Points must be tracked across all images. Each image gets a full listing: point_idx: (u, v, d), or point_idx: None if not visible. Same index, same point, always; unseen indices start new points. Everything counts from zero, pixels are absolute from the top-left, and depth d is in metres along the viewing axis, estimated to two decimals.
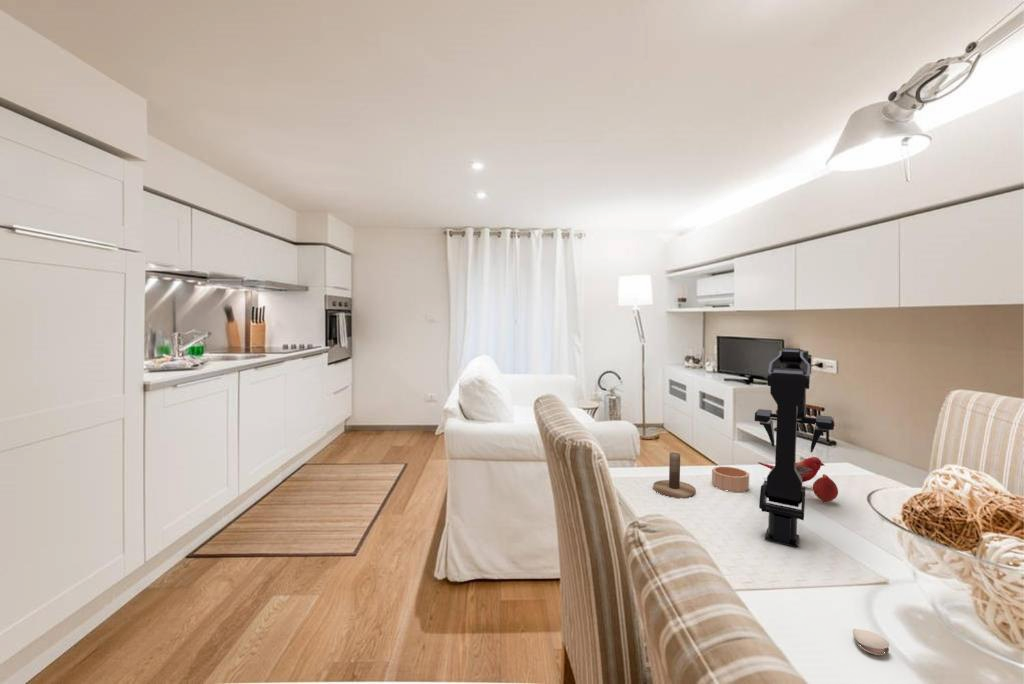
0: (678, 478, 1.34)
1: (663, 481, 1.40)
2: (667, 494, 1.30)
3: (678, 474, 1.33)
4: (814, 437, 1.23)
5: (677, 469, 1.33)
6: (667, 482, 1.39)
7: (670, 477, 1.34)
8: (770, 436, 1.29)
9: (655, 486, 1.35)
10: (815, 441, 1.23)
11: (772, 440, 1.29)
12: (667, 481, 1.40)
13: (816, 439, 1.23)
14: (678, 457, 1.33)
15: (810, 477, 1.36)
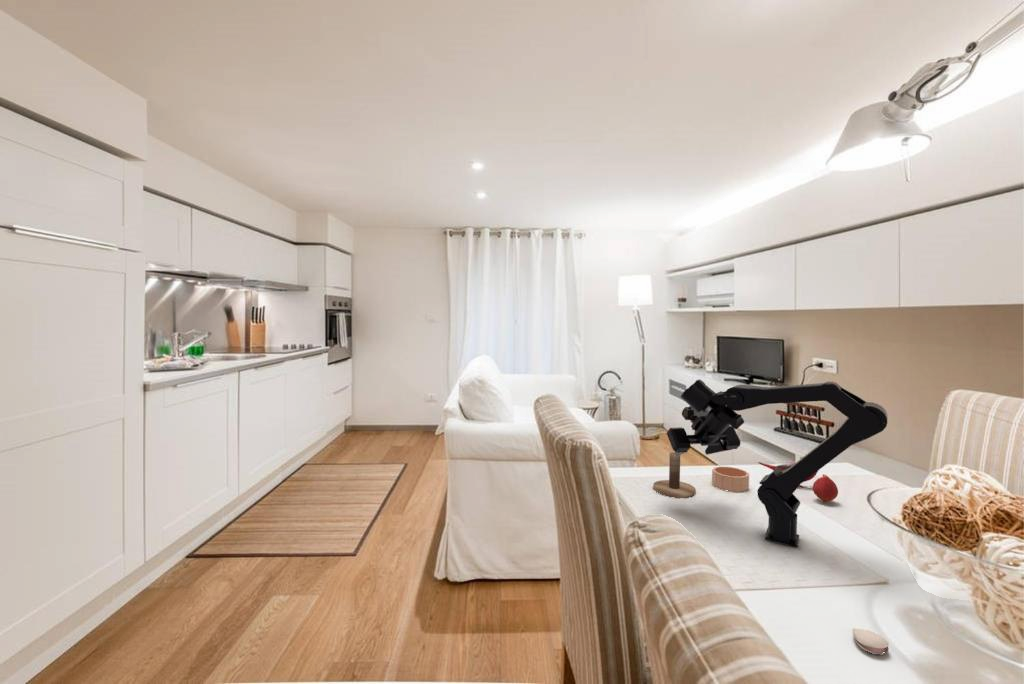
0: (678, 478, 1.34)
1: (663, 481, 1.40)
2: (667, 494, 1.30)
3: (678, 474, 1.33)
4: (718, 451, 1.23)
5: (677, 469, 1.33)
6: (667, 482, 1.39)
7: (670, 477, 1.34)
8: (680, 454, 1.22)
9: (655, 486, 1.35)
10: (716, 452, 1.24)
11: None
12: (667, 481, 1.40)
13: None
14: (678, 457, 1.33)
15: (810, 477, 1.36)
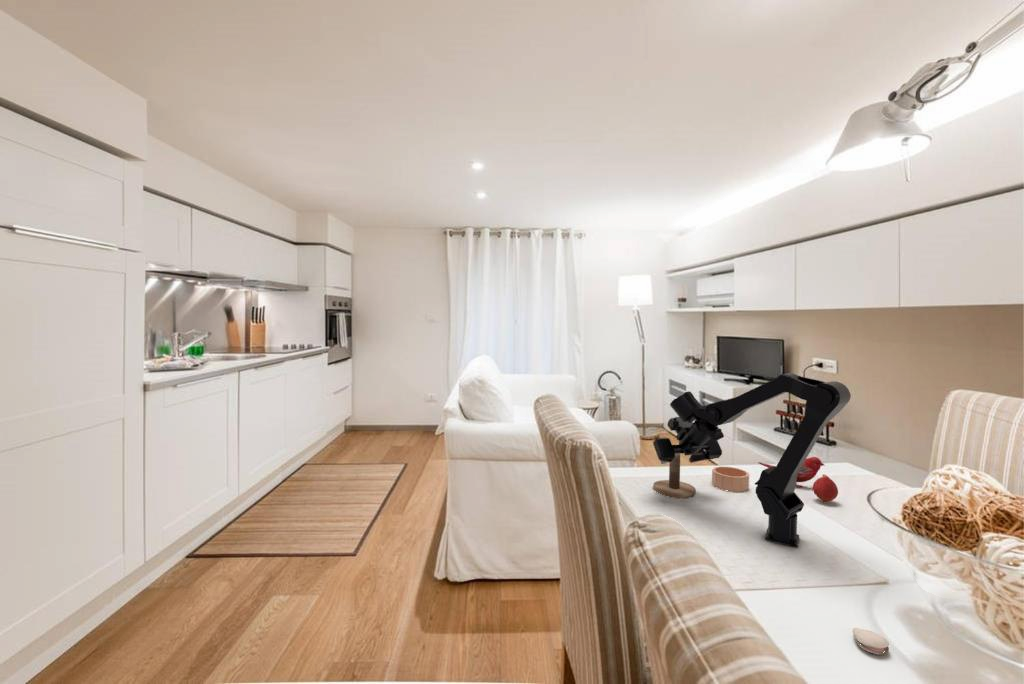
0: (678, 478, 1.34)
1: (663, 481, 1.40)
2: (667, 494, 1.30)
3: (678, 474, 1.33)
4: (701, 460, 1.30)
5: (677, 469, 1.33)
6: (667, 482, 1.39)
7: (670, 477, 1.34)
8: (665, 462, 1.29)
9: (655, 486, 1.35)
10: None
11: (664, 463, 1.31)
12: (667, 481, 1.40)
13: (701, 460, 1.30)
14: (678, 457, 1.33)
15: (810, 477, 1.36)
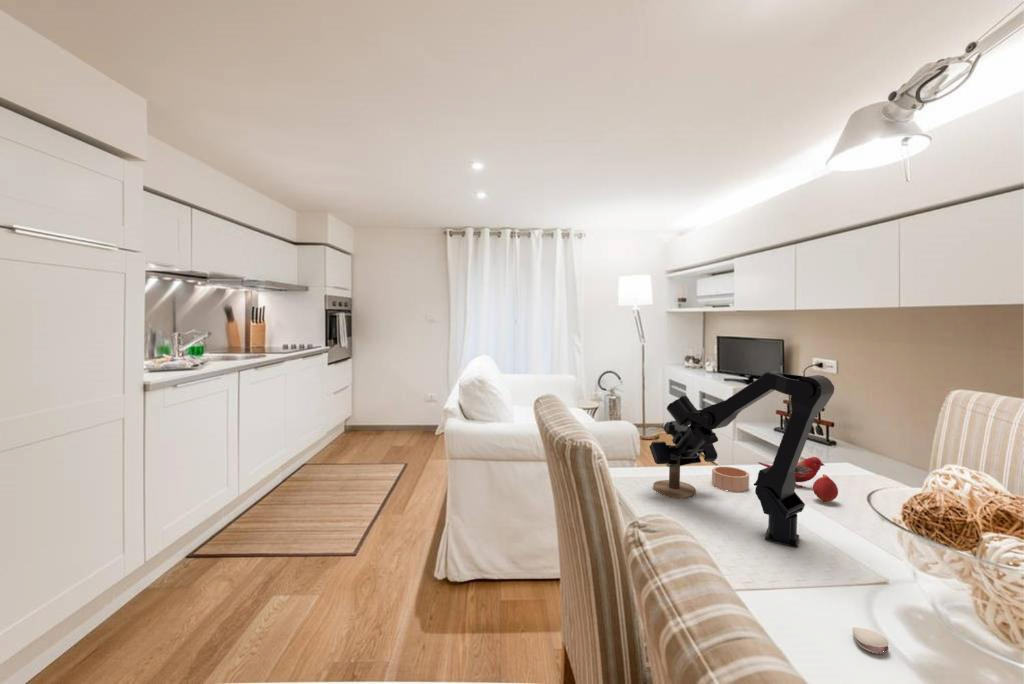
0: (678, 478, 1.34)
1: (663, 481, 1.40)
2: (667, 494, 1.30)
3: (678, 474, 1.33)
4: (688, 464, 1.32)
5: (677, 469, 1.33)
6: (667, 482, 1.39)
7: (670, 477, 1.34)
8: (671, 465, 1.32)
9: (655, 486, 1.35)
10: (686, 464, 1.33)
11: None
12: (667, 481, 1.40)
13: (688, 464, 1.32)
14: (678, 457, 1.33)
15: (810, 477, 1.36)
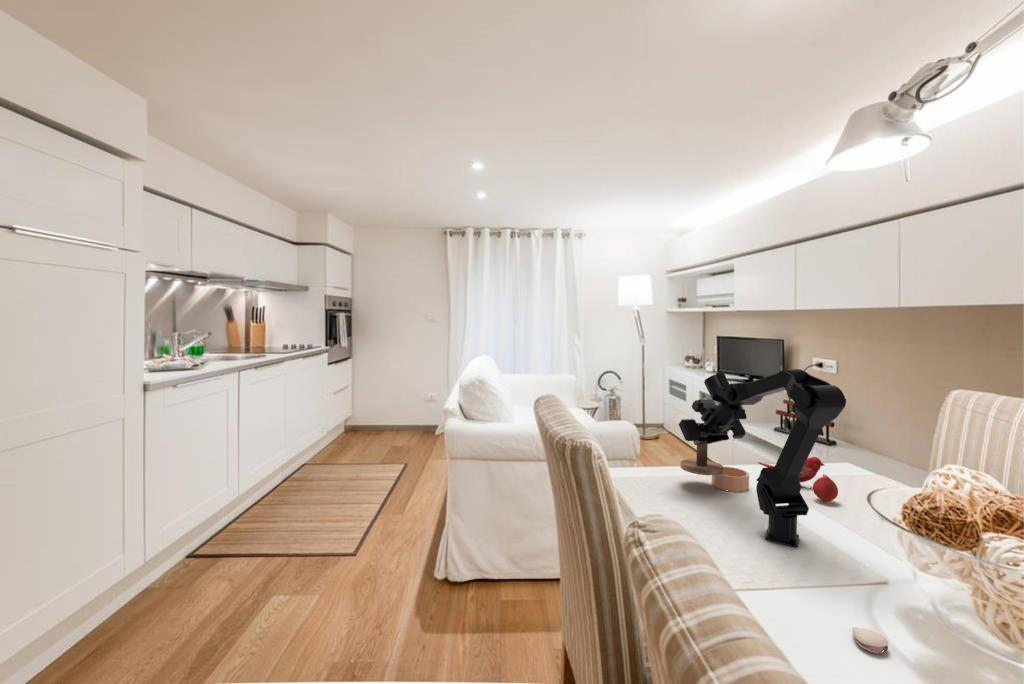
0: (706, 456, 1.35)
1: (689, 460, 1.41)
2: (696, 471, 1.32)
3: (706, 451, 1.35)
4: (716, 441, 1.33)
5: (704, 447, 1.35)
6: (693, 460, 1.40)
7: (698, 455, 1.36)
8: (699, 443, 1.34)
9: (683, 464, 1.37)
10: (714, 442, 1.34)
11: None
12: (693, 460, 1.41)
13: (716, 441, 1.34)
14: None
15: (810, 477, 1.36)
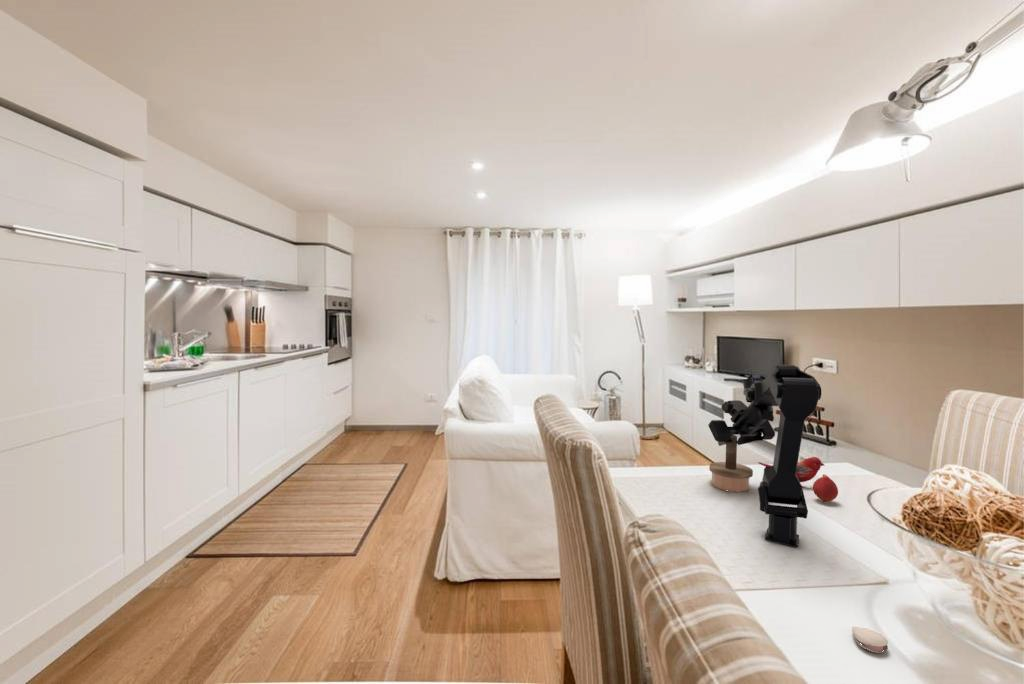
0: (735, 459, 1.37)
1: (718, 463, 1.43)
2: (726, 474, 1.34)
3: (735, 455, 1.37)
4: (750, 442, 1.36)
5: (734, 450, 1.37)
6: (722, 463, 1.43)
7: (727, 458, 1.38)
8: (724, 444, 1.36)
9: (712, 467, 1.39)
10: (748, 442, 1.37)
11: (723, 444, 1.37)
12: (722, 463, 1.43)
13: (750, 442, 1.36)
14: (735, 438, 1.37)
15: (810, 477, 1.36)
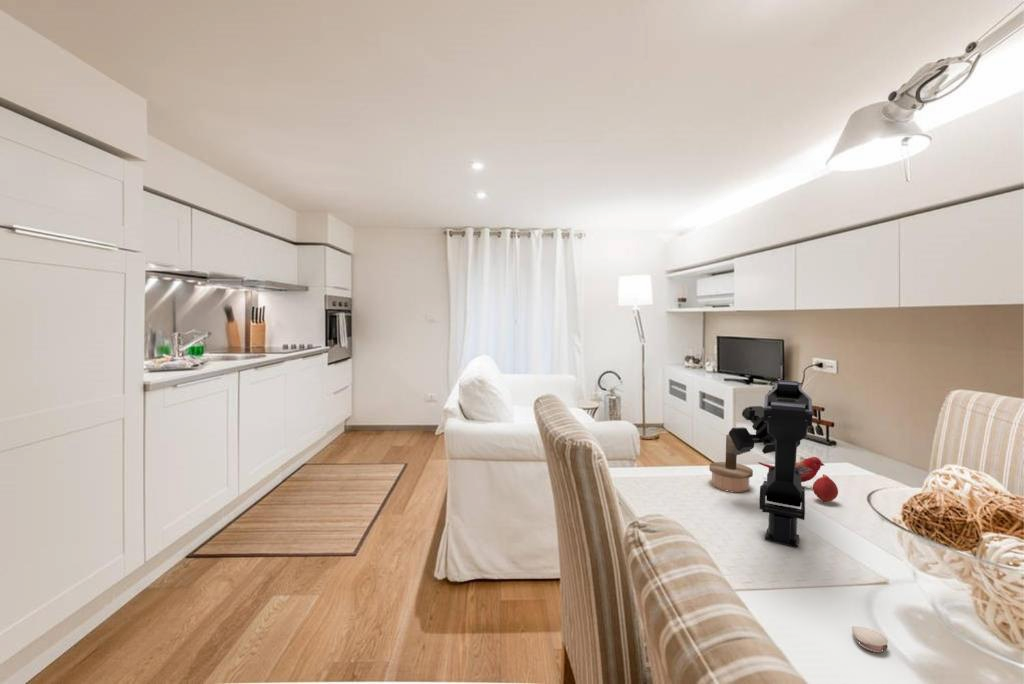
0: (735, 459, 1.37)
1: (718, 463, 1.43)
2: (726, 474, 1.34)
3: (735, 455, 1.37)
4: None
5: None
6: (722, 463, 1.43)
7: (727, 458, 1.38)
8: (741, 453, 1.26)
9: (712, 467, 1.39)
10: None
11: None
12: (722, 463, 1.43)
13: None
14: None
15: (810, 477, 1.36)
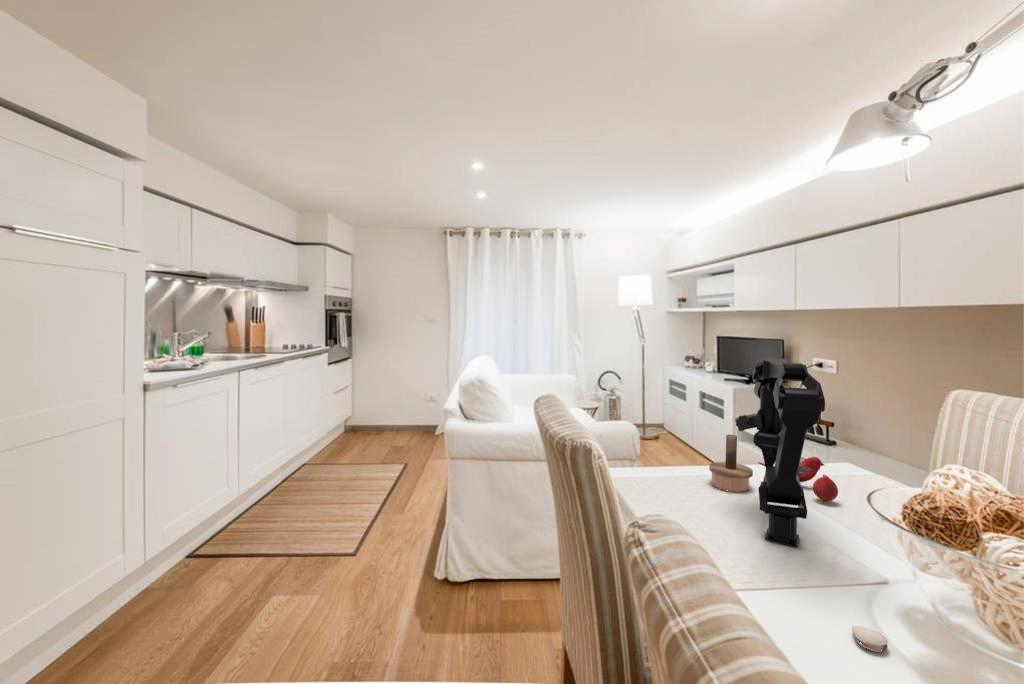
0: (735, 459, 1.37)
1: (718, 463, 1.43)
2: (726, 474, 1.34)
3: (735, 455, 1.37)
4: None
5: (734, 450, 1.37)
6: (722, 463, 1.43)
7: (727, 458, 1.38)
8: (776, 459, 1.13)
9: (712, 467, 1.39)
10: None
11: None
12: (722, 463, 1.43)
13: None
14: (735, 438, 1.37)
15: (810, 477, 1.36)
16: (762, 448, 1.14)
